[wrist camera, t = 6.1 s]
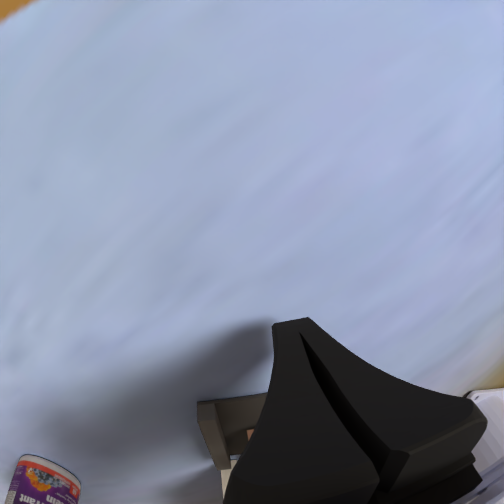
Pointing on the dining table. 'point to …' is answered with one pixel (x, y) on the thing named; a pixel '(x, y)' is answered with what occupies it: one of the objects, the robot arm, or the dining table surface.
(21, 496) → the pill bottle
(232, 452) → the pit tray
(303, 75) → the dining table surface
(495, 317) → the dining table surface
